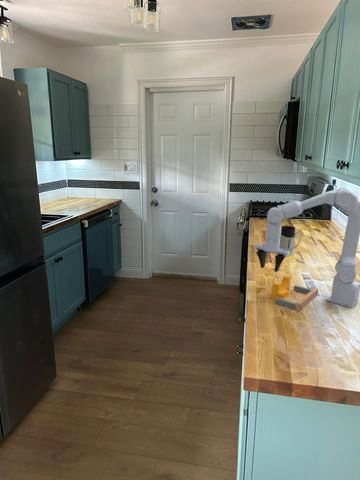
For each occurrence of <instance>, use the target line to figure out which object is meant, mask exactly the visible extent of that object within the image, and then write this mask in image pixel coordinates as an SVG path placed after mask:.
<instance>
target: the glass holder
mask: <svg viewBox="0 0 360 480" xmlns="http://www.w3.org/2000/svg"><path fill="white" fill-rule="evenodd" d="M297 234H298V235H299V240H298V242H297V244H296V245H295V239H296V235H297ZM301 239H302V234H301V233H300V232H297V231H296V226H293V225H292V226H291V225H282V226H281V233H280V243H279V248H281V249H284V250H287V251H290V253H289V256H292V255H294V254H295V252H294V249H295V248H297V247H298V246H299V244H300V243H301V241H302V240H301ZM294 245H295V246H294Z"/></svg>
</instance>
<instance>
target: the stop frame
mask: <svg viewBox="0 0 360 480" xmlns="http://www.w3.org/2000/svg"><path fill="white" fill-rule="evenodd" d="M293 291H295V292H299V293H302V294H305V295H304V296H303V297H302V298H299V300H298V301H297V302H293V301H290V300H287V299H281V298H276V300H275V304H277V305H279V306H283V307H286V308H288V309H292V310H295V311H297V312H300V311H302V310H303V309H304V308H305V307H306V306H307V305H308V304H309V303H311V302H312V301H313V300H314V299H316V298H317V296H319V288H317V287H313V288H312V289H311V288H309V287H308V288H307V287H304V286H301V285H296V284H294V285H293Z"/></svg>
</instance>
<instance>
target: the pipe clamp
mask: <svg viewBox="0 0 360 480" xmlns="http://www.w3.org/2000/svg"><path fill="white" fill-rule="evenodd" d="M291 279H292V278H291V276H289V275H283V276H282V280H281V283H279V282H276V281H274V282H273V283H272V285H271V286H272V288H271V297H270V298H271V299H273V300H275V301H276V298H281V299H284V300H286V298H288V297H289V294H290V293H289V292H290V286H291Z"/></svg>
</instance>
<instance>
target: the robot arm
mask: <svg viewBox="0 0 360 480" xmlns="http://www.w3.org/2000/svg"><path fill="white" fill-rule="evenodd" d="M324 204H327V205H331V206H334V205H335V204H336V205H337V206H338V207H339V208H341V209H342V210H344V211H345V212H346V213H347V215H348V216H347V220H346V221H347V222H346V226H345V232H344V237H343V243H342V248H341V254H340V255H339V258H338V261H337V262H336V264H335V265H334V266H335V267H334V270H335V271H336V274H335V275H334V276H333V279H332V280H333V281H332V287H331V294H330V295H329V297H328V298H327V300H326V301H328V302H331V303H335V304H338V305H342V306H344V307H349V308H354V307H355V306H356V305H357V303H358V302H359V296H360V283H359V282H356V281H355V279H356V278H357V272H356V254H357V249H358V245H359V240H360V201H359V198H358V197H357V195H355V194H354V193H353V192H352V191H350V190H349V189H348V188H345V187H341V188H340V187H339V188H337V189H333V190H332V189H331V190H329V191H325V192H323V193H320V194H318V195H315V196H312V197H310V198H307V199H305V200H302V201H298V200H294V199H291V200H289V202H287V203H284V204H279V205H277V207H274V206H273V207H271V208H270V209H269V210H268V212H267V215H266V217H267V221H266V228H265V235H264V236H265V239H264V244H259V243H258V244H254V246H253V247H254V248H253V250H254V251H255V250H256V255H257V257H258V261H259V265H260V268H261V269H263V268H265V266H266V259H267V253H272V254H275V256H274V262H275V264H274V272H275V273H277V272H279V269H280V267H281V265H282V263H283V261H284V260H285V258H287V257H290V255H289V253H290V251H287V250H284V249H281V248H279V245H280V235H281V229H282V226H281V224H282V220H287V219H290V218H294V217H296V216H299V215H302V213H303V212H304V210H307V209H311V208H313V207H317V206H321V205H324Z"/></svg>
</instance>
